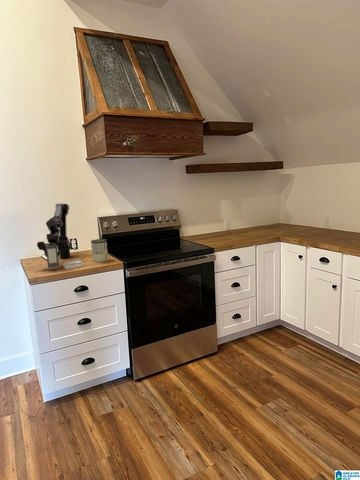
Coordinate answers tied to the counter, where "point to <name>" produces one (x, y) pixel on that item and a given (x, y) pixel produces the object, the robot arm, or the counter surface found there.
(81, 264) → the picture stand
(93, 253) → the coffee can
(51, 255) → the photo frame
